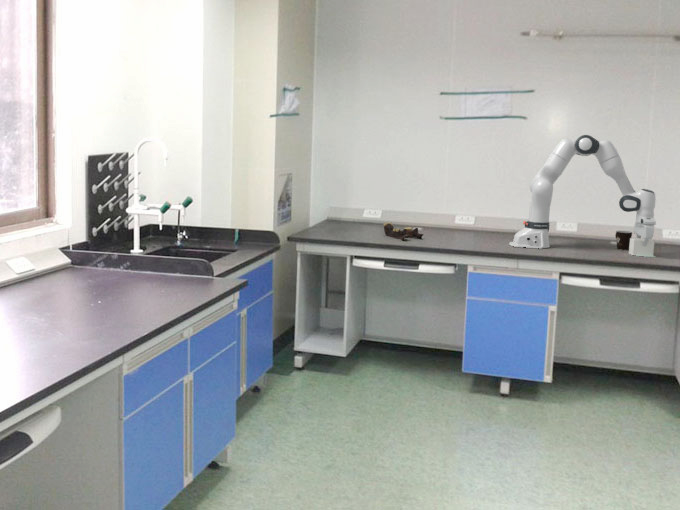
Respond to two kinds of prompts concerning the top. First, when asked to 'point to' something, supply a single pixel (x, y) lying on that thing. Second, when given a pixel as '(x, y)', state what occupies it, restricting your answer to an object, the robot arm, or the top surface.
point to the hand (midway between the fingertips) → (641, 244)
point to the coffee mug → (623, 239)
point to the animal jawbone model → (401, 232)
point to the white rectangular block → (641, 247)
